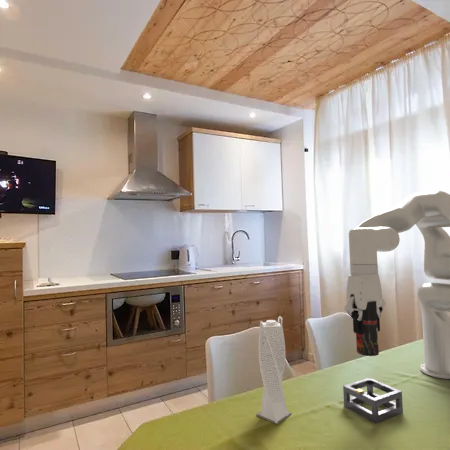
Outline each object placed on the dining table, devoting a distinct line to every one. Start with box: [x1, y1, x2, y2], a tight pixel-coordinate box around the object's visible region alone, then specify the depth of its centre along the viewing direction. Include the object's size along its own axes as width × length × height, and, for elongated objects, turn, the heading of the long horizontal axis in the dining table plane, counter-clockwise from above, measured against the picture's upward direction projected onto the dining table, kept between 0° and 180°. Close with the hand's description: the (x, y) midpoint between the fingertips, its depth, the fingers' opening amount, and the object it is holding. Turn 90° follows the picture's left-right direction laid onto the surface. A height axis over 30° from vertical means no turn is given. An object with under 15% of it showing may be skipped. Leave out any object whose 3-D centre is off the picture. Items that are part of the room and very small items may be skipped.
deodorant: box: [355, 301, 380, 357], centre depth 99 cm, size 6×6×15 cm
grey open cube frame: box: [342, 377, 404, 425], centre depth 97 cm, size 11×11×7 cm
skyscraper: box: [256, 315, 292, 425], centre depth 95 cm, size 8×8×28 cm
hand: (366, 331), depth 99 cm, fingers closed on deodorant, 5 cm apart
